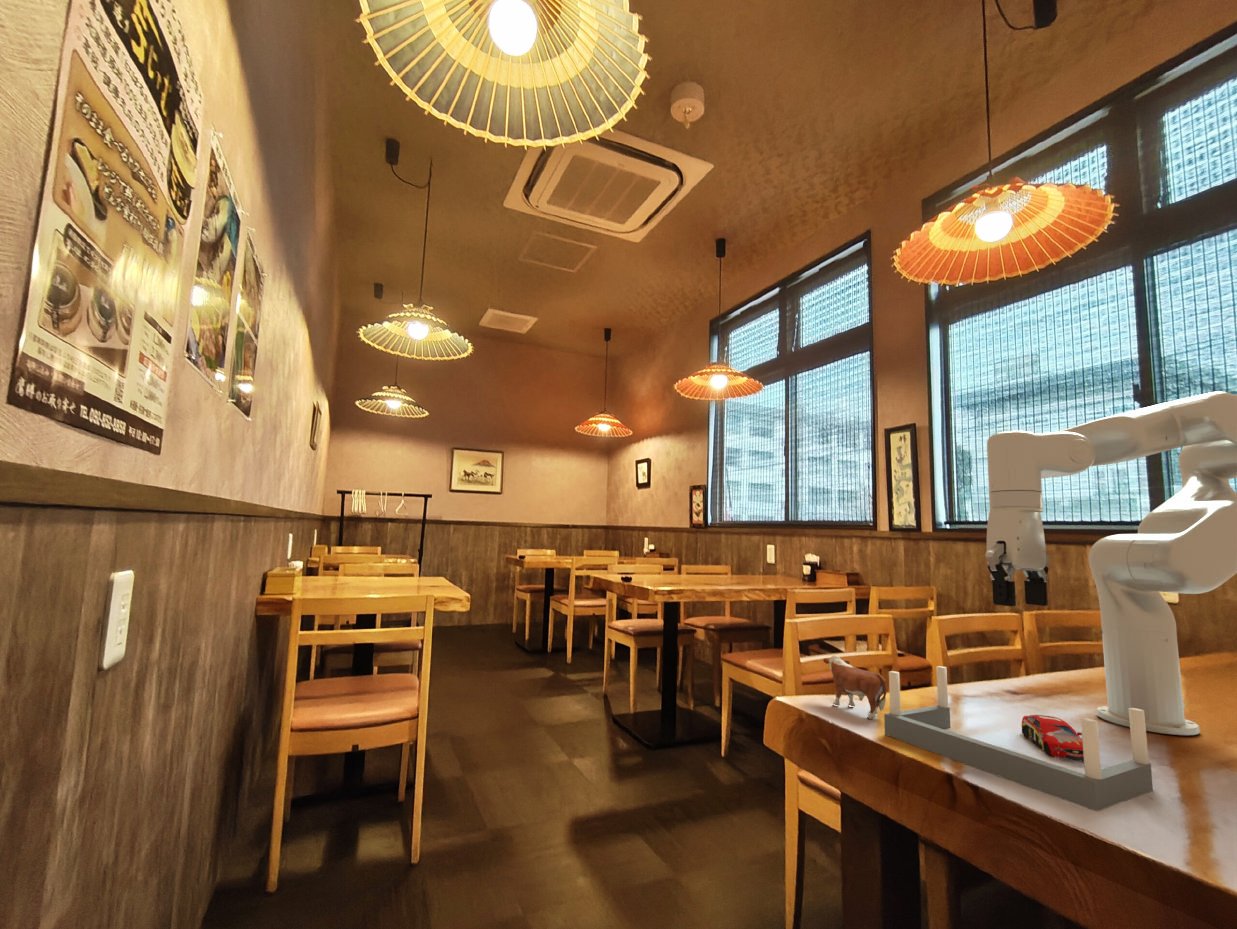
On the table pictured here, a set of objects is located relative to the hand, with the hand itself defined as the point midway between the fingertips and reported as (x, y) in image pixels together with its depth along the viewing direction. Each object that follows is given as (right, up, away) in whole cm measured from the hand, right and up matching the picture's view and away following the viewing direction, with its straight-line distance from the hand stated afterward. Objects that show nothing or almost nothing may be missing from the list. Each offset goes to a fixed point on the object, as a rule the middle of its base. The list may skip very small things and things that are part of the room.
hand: (1020, 605), depth 94 cm
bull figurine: (-27, -19, +2) cm, 33 cm away
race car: (-5, -18, -13) cm, 23 cm away
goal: (-15, -16, -19) cm, 29 cm away
